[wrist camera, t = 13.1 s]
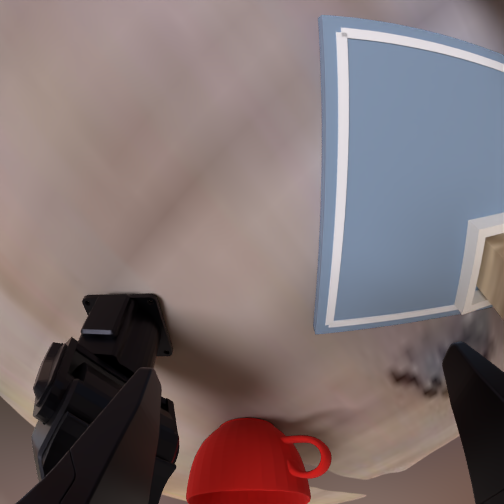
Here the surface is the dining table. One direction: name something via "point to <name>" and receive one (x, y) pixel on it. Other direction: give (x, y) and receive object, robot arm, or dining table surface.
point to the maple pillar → (493, 272)
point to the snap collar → (475, 261)
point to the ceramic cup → (252, 466)
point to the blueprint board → (402, 169)
